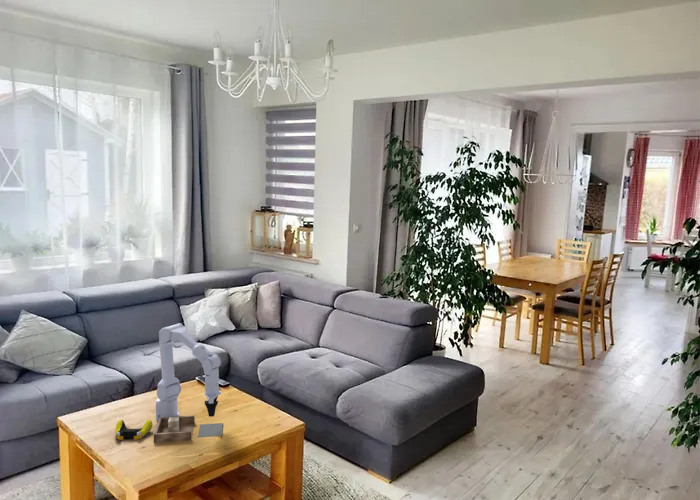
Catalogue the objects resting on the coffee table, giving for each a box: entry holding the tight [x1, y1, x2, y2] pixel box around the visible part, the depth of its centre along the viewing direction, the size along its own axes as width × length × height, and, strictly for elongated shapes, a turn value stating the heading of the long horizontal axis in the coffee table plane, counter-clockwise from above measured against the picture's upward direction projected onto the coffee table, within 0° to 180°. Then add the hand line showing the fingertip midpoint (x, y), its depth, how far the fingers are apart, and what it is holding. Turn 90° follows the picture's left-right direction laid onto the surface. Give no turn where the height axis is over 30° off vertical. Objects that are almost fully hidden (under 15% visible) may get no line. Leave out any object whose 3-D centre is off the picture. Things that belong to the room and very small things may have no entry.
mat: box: [197, 422, 224, 438], centre depth 232 cm, size 10×12×1 cm
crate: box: [153, 414, 196, 443], centre depth 229 cm, size 15×16×4 cm
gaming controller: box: [114, 419, 153, 441], centre depth 226 cm, size 15×6×10 cm
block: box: [168, 417, 179, 432], centre depth 228 cm, size 4×4×6 cm
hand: (212, 412), depth 231 cm, fingers open, 7 cm apart
